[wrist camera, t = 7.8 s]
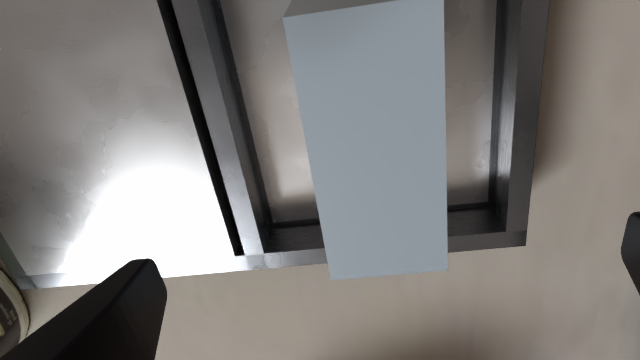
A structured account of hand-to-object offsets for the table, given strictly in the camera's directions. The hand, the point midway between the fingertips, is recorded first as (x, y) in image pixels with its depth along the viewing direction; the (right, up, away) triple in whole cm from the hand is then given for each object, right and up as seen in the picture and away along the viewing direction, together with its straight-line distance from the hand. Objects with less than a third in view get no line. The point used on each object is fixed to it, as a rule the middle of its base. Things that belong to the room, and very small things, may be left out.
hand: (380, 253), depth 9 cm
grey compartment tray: (-5, +5, +10) cm, 12 cm away
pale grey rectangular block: (+1, +5, +9) cm, 10 cm away
